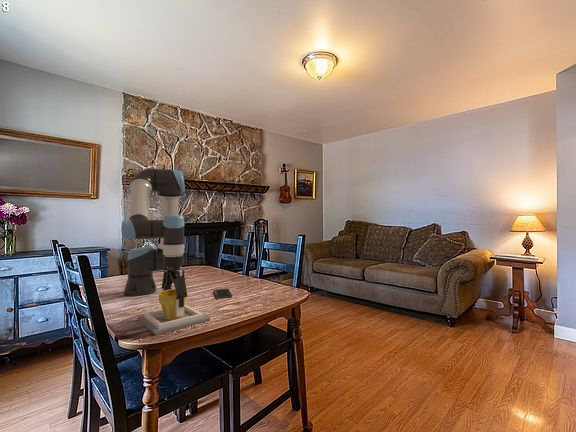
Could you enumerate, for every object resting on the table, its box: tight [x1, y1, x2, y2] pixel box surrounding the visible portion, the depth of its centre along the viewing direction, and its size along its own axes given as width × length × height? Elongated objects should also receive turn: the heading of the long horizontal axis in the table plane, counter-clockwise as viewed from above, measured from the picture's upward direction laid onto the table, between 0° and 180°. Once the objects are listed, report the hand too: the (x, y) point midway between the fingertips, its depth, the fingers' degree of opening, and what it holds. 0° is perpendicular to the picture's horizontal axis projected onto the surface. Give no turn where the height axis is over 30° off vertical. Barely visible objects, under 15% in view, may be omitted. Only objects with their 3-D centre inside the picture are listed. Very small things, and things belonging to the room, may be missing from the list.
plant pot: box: [158, 288, 189, 320], centre depth 113 cm, size 10×10×10 cm
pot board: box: [137, 303, 211, 336], centre depth 113 cm, size 20×20×2 cm
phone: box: [213, 288, 233, 300], centre depth 150 cm, size 8×1×15 cm
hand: (173, 311), depth 113 cm, fingers open, 12 cm apart
